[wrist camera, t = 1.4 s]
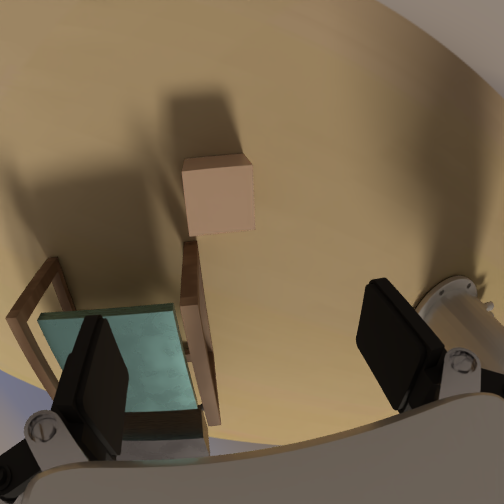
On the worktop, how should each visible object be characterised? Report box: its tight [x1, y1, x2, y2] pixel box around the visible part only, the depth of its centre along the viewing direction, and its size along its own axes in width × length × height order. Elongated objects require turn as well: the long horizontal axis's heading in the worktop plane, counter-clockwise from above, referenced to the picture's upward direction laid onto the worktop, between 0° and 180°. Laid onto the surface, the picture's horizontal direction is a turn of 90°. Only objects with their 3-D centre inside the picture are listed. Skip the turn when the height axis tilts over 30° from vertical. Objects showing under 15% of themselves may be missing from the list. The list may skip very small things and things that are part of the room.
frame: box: [6, 241, 221, 426], centre depth 28 cm, size 16×14×10 cm
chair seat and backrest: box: [37, 303, 210, 461], centre depth 27 cm, size 12×20×4 cm, turn 2°
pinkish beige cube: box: [182, 153, 255, 237], centre depth 26 cm, size 5×5×5 cm
